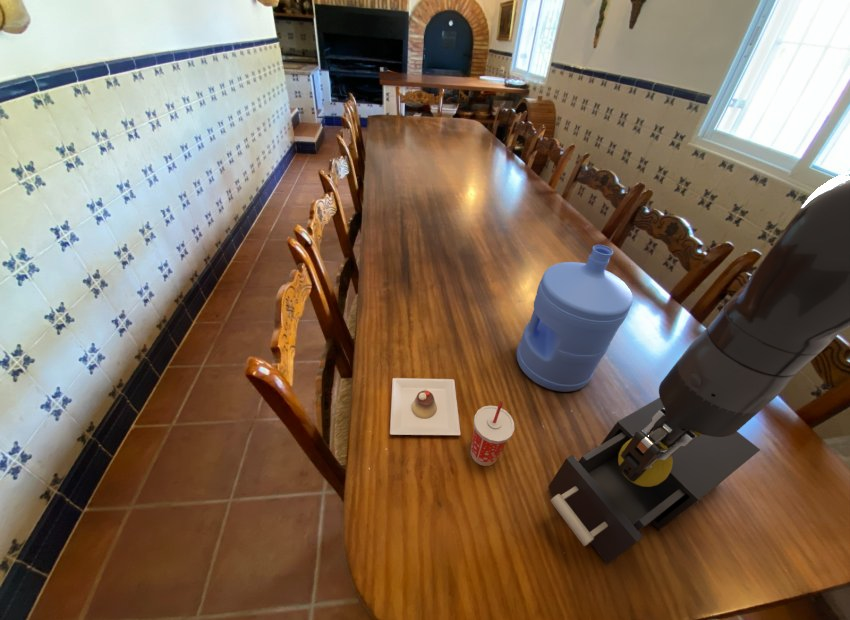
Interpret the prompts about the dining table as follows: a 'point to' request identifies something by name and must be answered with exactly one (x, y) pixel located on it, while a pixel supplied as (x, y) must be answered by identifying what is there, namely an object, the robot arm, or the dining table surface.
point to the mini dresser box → (608, 500)
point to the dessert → (424, 407)
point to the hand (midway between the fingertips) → (643, 463)
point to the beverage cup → (490, 433)
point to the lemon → (655, 473)
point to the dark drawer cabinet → (691, 460)
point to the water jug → (573, 322)
